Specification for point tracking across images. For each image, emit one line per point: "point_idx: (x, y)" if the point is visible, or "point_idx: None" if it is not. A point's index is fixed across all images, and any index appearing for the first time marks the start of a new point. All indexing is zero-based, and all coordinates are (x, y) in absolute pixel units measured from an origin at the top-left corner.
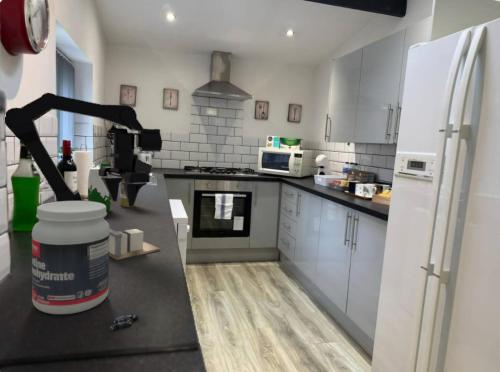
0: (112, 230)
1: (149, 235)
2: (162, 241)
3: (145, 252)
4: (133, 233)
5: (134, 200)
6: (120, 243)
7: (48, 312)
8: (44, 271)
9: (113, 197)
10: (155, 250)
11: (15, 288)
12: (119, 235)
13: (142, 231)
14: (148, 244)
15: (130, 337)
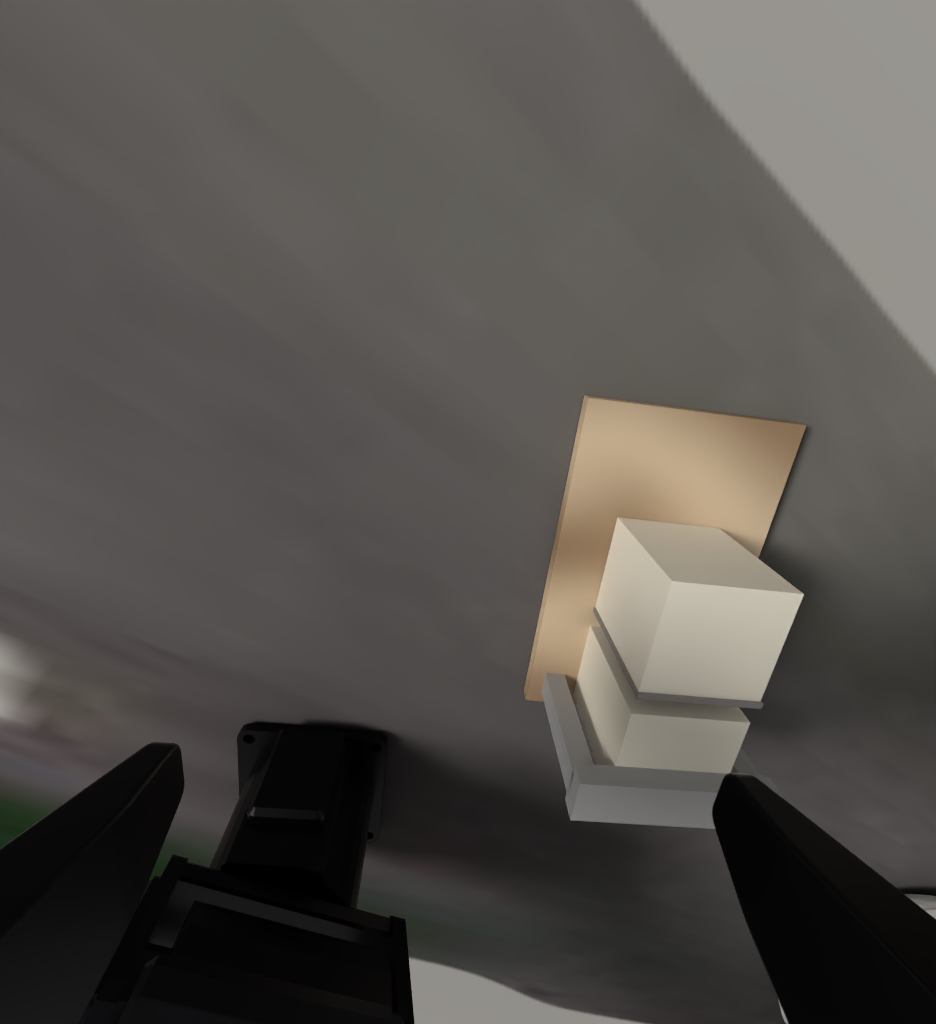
0: (643, 795)
1: (393, 158)
2: (647, 217)
3: (760, 540)
4: (768, 678)
5: (853, 870)
6: (740, 749)
7: None
8: None
9: (146, 864)
10: (787, 462)
11: (644, 1005)
12: None
13: (789, 593)
14: (666, 422)
15: None
